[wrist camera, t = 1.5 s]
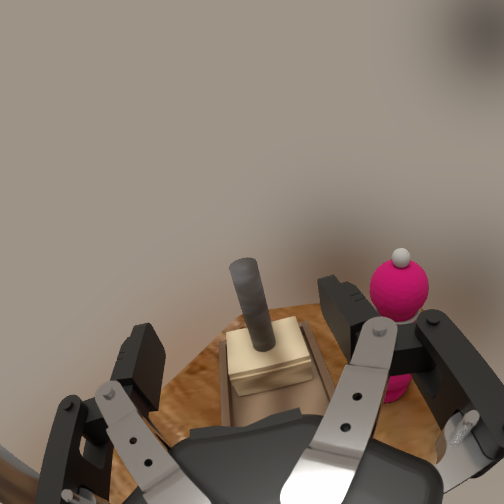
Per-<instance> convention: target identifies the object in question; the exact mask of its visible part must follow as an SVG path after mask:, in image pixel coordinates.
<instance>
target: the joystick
mask: <svg viewBox="0 0 504 504" xmlns="http://www.w3.org/2000/svg"><path fill="white" fill-rule="evenodd" d="M229 270H230V273H231V276H232V279H233V283H234V286H235V290H236V293H237V296H238V299H239V302H240V306H241V309H242V312H243V316H244V319H245V322H246V325H247V328H244V329H240V330H235V331H231V332H226V338H227V357H228V374H229V377H230V381H231V383H232V385H233V386H234V387H235V389H236V392H237V394H238V396H244V395H249V394H254V393H259V392H263V391H268V390H272V389H277V388H281V387H285V386H289V385H293V384H297V383H300V382H304V381H308V380H311V379H313V378H312V370H311V367H312V364H311V359H310V355H309V352H308V349H307V347H306V344H305V341H304V339H303V336H302V333H301V331H300V328H299V325H298V323H297V320H296V317H295V316H293V317H289V318H285V319H281V320H277V321H273V322H271V319H270V315H269V311H268V307H267V303H266V299H265V295H264V290H263V286H262V282H261V278H260V274H259V270H258V265H257V262H256V260H255V259H253V258H242V259H239V260H236V261H234V262H233V263H232V264H231V265H230V266H229Z"/></svg>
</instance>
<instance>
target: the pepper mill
mask: <svg viewBox="0 0 504 504" xmlns="http://www.w3.org/2000/svg"><path fill="white" fill-rule="evenodd" d="M428 290H429V285H428V279H427V276H426V273H425V272H424V270H423V269H422V268H421V267H420V266H419V265H418V264H417V263H415V262H413V261H411V260H410V254H409V252H408V251H407V250H406V249H404V248H399V249H396V250H395V251H394V253H393V255H392V260H389V261H387V262H384V263H383V264H382V265H381V266H379V267H378V268H377V269H376V271H375V272H374V274H373V276H372V278H371V282H370V297H371V300H372V302H373V304H374V309H375V310H376V311H377V312H378V314H379V315H380V316H381V317H387V318H390V319H392V320H393V321H394V322H395V323H396V324H407V323H414V322H416V320H417V317H418V315H419V314H420V311H421V307H422V306H423V304H424V303H425V301H426V299H427V296H428ZM411 379H412V376H411V375H410V374H405V375H398V376H391V377H390V380H389V384H388V388H387V392H386V396H385V399H384V403H389V402H392V401H395V400H397V399H398V398H400V397H401V396H402V395H403V394H404V392H405V391H406V389H407V386H408V382H410V381H411Z"/></svg>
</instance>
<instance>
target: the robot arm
mask: <svg viewBox="0 0 504 504" xmlns="http://www.w3.org/2000/svg"><path fill="white" fill-rule="evenodd" d="M318 289H319V297H320V305H321V310H322V314H323V316H324V319H325V320H326V322H327V324H328V326H329V328H330V330H331V331H332V333H333V335H334V337H335V339H336V341H337V342H338V344H339V346H340V348H341V350H342V352H343V354H344V355H345V357H346V359H347V361H348V363H347V364H346V365H345V367H344V369H343V372H342V374H341V377H340V380H339V382H338V384H337V387H336V389H335V392H334V394H333V396H332V399H331V401H330V403H329V406H328V408H327V410H326V412H325V415H324V416H323V415H316V414H301V411H300V407H298V408H295V409H291V410H288V411H284V412H280V413H276V414H272V415H270V416H268V417H265V418H263V419H261V420H259V421H257V422H254V423H252V424H250V425H248V426H245V427H230V426H211V427H204V428H196V429H190V437H189V438H186V439H184V440H182V441H180V442H179V443H177V444H176V445H174V446H172V445H171V444H170V443H169V442H168V440H167V439H166V438H165V437H164V436H163V434H162V433H161V432H160V431H159V429H158V428H157V427H156V426H155V424H154V423H153V422H152V420H151V419H150V418H149V417H148V416H149V412H152V411H158V409H159V401H160V393H161V385H162V378H163V372H164V365H165V359H166V354H165V350H164V347H163V345H162V343H161V342H160V340H159V338H158V336H157V334H156V332H155V331H154V329H153V327H152V325H151V324H150V323H144V324H140V325H135V326H134V328H133V330H132V333H131V336H130V337H128V338H127V339H126V340H125V341H124V343H123V344H122V345H121V348H120V351H119V355H118V357H117V361H116V363H115V366H114V369H113V372H112V376H111V379H110V381H108V382H105V383H104V384H102V385H101V386H100V387H99V388H98V389H97V391H96V394H95V397H94V398H91V399H88V400H85V401H82V400H81V399H80V398H79V397H78V396H77V395H69V396H67V397H66V398H64V399H63V400H62V401H61V403H60V404H59V406H58V409H57V413H56V416H55V419H54V422H53V425H52V429H51V432H50V436H49V439H48V443H47V447H46V451H45V455H44V459H43V463H42V468H41V473H40V474H39V473H37V472H36V471H34V470H33V469H31V468H30V467H29V466H27V465H26V464H25V463H23V462H22V461H21V460H19V459H18V458H17V457H15V456H14V455H13V454H12V453H10V452H9V451H8V450H6V449H5V448H4V447H3V446H2V445H1V444H0V502H1V503H2V504H110V503H109V491H110V478H111V467H112V457H113V449H114V447H115V448H116V450H117V452H118V454H119V455H120V457H121V459H122V460H123V462H124V464H125V465H126V467H127V469H128V470H129V472H130V473H131V475H132V476H133V478H134V479H135V481H136V482H137V484H138V485H139V486H138V487H137V488H136V489H135V490H134V491H133V492H132V493H131V495H130V496H129V497H128V498H127V499H126V500H125V501H124V502H123V503H122V504H442V499H443V494H445V493H447V492H448V491H450V490H452V489H453V488H455V487H457V486H459V485H460V484H462V483H463V482H465V481H467V480H468V479H470V478H477V477H480V476H482V475H483V474H485V473H486V472H487V471H488V470H490V469H491V468H492V467H493V466H495V465H496V464H497V463H498V462H499V461H500V460H502V459H503V458H504V385H503V384H502V382H501V381H500V380H499V378H498V377H497V376H496V374H495V373H494V372H493V370H492V369H491V368H490V367H489V365H488V364H487V362H486V361H485V360H484V359H483V357H482V356H481V355H480V354H479V353H478V351H477V350H476V349H475V348H474V346H473V345H472V344H471V343H470V342H469V340H468V339H467V338H466V337H465V336H464V335H463V333H462V332H461V331H460V330H459V329H458V328H457V326H456V325H455V324H454V323H453V322H452V321H451V320H450V319H449V317H448V316H447V315H446V314H445V313H443V312H441V311H439V310H434V309H430V310H425V311H423V312H421V313H420V314H419V315H418V317H417V320H416V322H414V323H407V324H396V323H395V322H394V321H393V320H392V319H390V318H387V317H381V316H380V315H379V314H378V312H377V311H376V310H375V309H374V307H373V306H372V305H371V304H370V303H369V302H368V300H367V299H365V296H364V295H363V294H361V292H360V290H359V289H358V288H357V287H356V286H355V285H353V284H351V283H349V282H343V283H340V282H339V281H338V279H337V278H336V277H335V276H334V275H330V276H326V277H323V278H320V279H318ZM405 374H410V375H411V376H412V378H413V380H414V382H415V383H416V385H417V387H418V389H419V390H420V392H421V394H422V396H423V397H424V399H425V401H426V403H427V405H428V406H429V408H430V410H431V412H432V414H433V416H434V417H435V419H436V421H437V423H438V425H439V427H440V429H441V433H440V434H439V436H438V437H437V440H436V444H435V447H436V452H437V462H436V464H435V466H433V465H432V464H431V463H430V462H428V461H426V460H424V459H421V458H419V457H416V456H413V455H411V454H408V453H406V452H403V451H401V450H399V449H396V448H394V447H392V446H389V445H387V444H385V443H382V442H380V441H378V440H376V439H374V438H373V437H374V434H375V431H376V428H377V424H378V421H379V417H380V414H381V410H382V407H383V403H384V399H385V396H386V392H387V388H388V384H389V380H390V377H391V376H398V375H405ZM81 436H83V437H84V438H85V439H86V442H85V447H84V453H83V457H82V455H81V454H80V451H79V446H80V441H81Z"/></svg>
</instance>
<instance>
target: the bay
mask: <svg viewBox="0 0 504 504" xmlns="http://www.w3.org/2000/svg"><path fill="white" fill-rule="evenodd" d="M298 325H299V328H300V331H301V333H302V336H303V339H304V341H305V344H306V347H307V349H308V352H309V355H310V359H311V364H312V367H311V370H312V378H313V379H311V380H308V381H304V382H300V383H297V384H293V385H289V386H285V387H281V388H277V389H272V390H268V391H263V392H259V393H254V394H249V395H244V396H238V394H237V392H236V389H235V387H234V386H233V385H232V383H231V381H230V377H229V374H228V357H227V340H224V341H219V363H220V394H221V417H222V426H230V427H245V426H248V425H250V424H252V423H254V422H257V421H259V420H261V419H263V418H265V417H268V416H270V415H272V414H276V413H280V412H284V411H288V410H291V409H295V408H298V407H300V411H301V414H316V415H323V416H324V415H325V412H326V410H327V408H328V406H329V403H330V401H331V399H332V396H333V394H334V392H335V386H334V384H333V382H332V379H331V377H330V374H329V372H328V369H327V367H326V364H325V362H324V359H323V357H322V355H321V352H320V350H319V347H318V345H317V343H316V340H315V338H314V335H313V333H312V331H311V328H310V326H309V323H308V321H307V320H306V321H303V322H299V323H298Z"/></svg>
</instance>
